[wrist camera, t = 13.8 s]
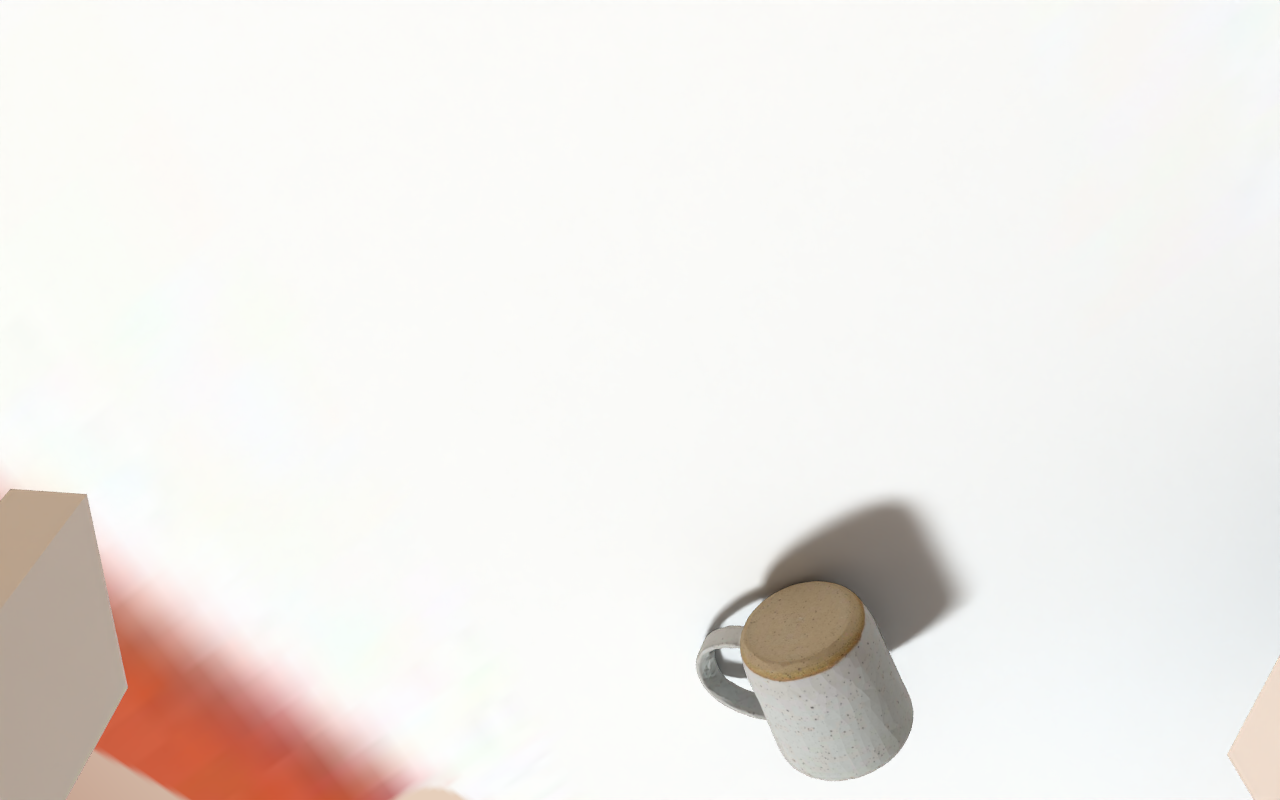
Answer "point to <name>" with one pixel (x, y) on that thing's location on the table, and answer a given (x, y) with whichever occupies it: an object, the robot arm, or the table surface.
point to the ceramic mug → (816, 680)
